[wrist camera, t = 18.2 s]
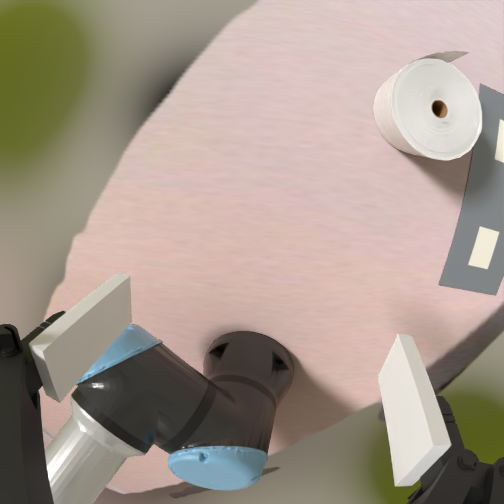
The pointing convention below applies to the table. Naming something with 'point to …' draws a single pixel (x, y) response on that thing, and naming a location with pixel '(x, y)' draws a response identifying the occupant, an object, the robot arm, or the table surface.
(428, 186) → the table surface
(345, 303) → the table surface
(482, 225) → the label mat
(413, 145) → the toilet tissue
